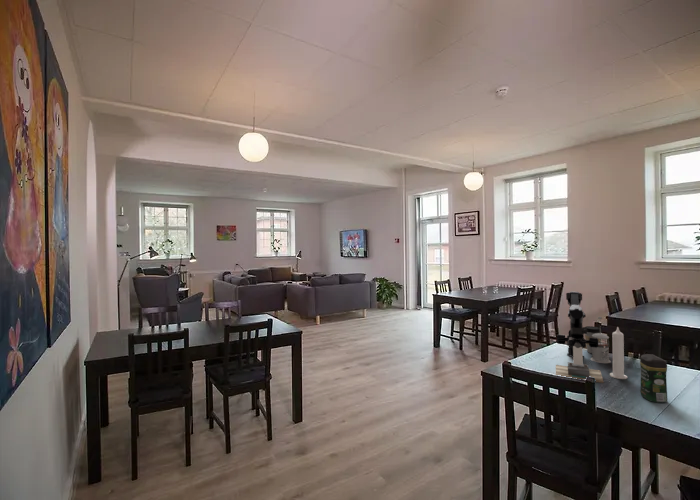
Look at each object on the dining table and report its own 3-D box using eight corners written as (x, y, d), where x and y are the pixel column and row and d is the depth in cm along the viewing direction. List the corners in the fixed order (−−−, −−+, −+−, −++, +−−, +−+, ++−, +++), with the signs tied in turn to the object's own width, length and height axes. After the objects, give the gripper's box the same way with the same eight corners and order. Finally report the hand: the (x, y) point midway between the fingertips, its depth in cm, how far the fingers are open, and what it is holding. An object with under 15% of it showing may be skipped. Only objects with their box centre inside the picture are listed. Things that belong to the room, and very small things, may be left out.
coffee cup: (605, 354, 216) (605, 329, 216) (589, 354, 217) (589, 329, 216) (595, 349, 226) (595, 325, 225) (580, 350, 226) (579, 326, 226)
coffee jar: (637, 393, 162) (636, 352, 162) (658, 394, 160) (657, 353, 160) (648, 402, 153) (648, 359, 152) (671, 404, 151) (670, 360, 150)
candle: (630, 379, 178) (629, 328, 177) (614, 378, 179) (613, 328, 179) (622, 374, 185) (622, 325, 184) (607, 373, 186) (606, 325, 185)
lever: (573, 363, 189) (572, 342, 190) (582, 364, 187) (581, 343, 188) (573, 364, 186) (573, 342, 188) (582, 365, 184) (582, 343, 186)
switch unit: (555, 366, 198) (555, 356, 198) (600, 372, 188) (600, 361, 188) (555, 376, 184) (555, 365, 184) (603, 383, 174) (603, 371, 174)
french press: (586, 359, 209) (585, 316, 208) (598, 356, 214) (598, 313, 213) (604, 364, 200) (603, 319, 199) (616, 360, 205) (616, 316, 204)
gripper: (556, 319, 197) (556, 345, 188) (598, 322, 187) (600, 349, 178) (556, 330, 204) (557, 355, 195) (596, 334, 195) (599, 360, 185)
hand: (577, 355), depth 188 cm, fingers closed, pressing on lever
